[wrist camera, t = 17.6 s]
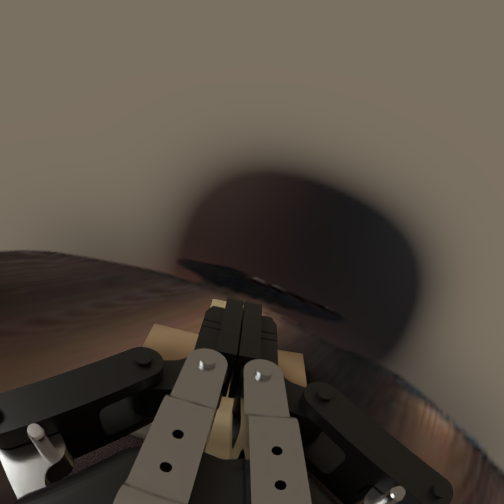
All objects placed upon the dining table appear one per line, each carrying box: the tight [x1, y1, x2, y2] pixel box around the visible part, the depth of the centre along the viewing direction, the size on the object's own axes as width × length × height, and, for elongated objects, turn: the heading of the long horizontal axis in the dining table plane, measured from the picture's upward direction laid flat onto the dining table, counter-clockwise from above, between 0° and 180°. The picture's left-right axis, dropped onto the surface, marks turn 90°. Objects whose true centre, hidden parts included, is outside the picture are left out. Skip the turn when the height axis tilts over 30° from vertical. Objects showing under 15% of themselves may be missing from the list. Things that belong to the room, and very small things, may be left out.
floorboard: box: [130, 324, 307, 439], centre depth 21 cm, size 11×14×2 cm
